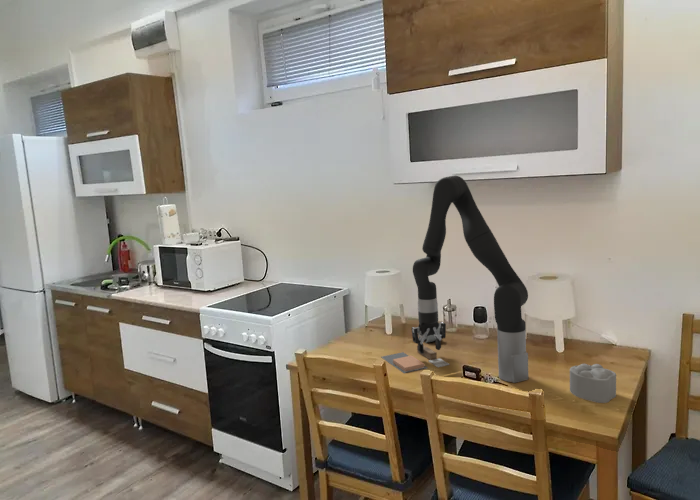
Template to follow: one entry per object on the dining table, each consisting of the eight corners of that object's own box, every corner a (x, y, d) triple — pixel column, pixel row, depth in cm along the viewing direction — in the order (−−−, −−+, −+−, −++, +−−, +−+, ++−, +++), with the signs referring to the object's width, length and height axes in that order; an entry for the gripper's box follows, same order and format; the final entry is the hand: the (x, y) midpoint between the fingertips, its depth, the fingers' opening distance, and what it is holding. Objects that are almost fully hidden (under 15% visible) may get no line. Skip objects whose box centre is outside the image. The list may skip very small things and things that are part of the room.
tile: (411, 359, 204) (424, 367, 195) (393, 363, 201) (405, 371, 192) (411, 355, 204) (424, 363, 195) (392, 359, 201) (405, 367, 192)
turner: (414, 354, 211) (414, 346, 211) (425, 352, 213) (425, 343, 212) (437, 369, 194) (437, 360, 194) (449, 366, 196) (449, 357, 196)
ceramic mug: (444, 341, 224) (443, 323, 223) (428, 345, 221) (427, 327, 220) (429, 335, 234) (428, 318, 233) (413, 339, 230) (412, 322, 229)
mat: (428, 369, 194) (428, 368, 194) (404, 374, 191) (404, 373, 191) (403, 353, 213) (403, 352, 213) (380, 358, 209) (380, 356, 209)
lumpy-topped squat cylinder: (604, 405, 158) (604, 377, 157) (562, 393, 168) (562, 367, 167) (619, 394, 164) (619, 367, 163) (578, 383, 174) (578, 358, 173)
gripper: (416, 314, 196) (418, 357, 198) (449, 308, 201) (451, 350, 203) (406, 310, 203) (408, 351, 205) (439, 304, 208) (440, 345, 210)
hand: (429, 351), depth 204 cm, fingers open, 6 cm apart
